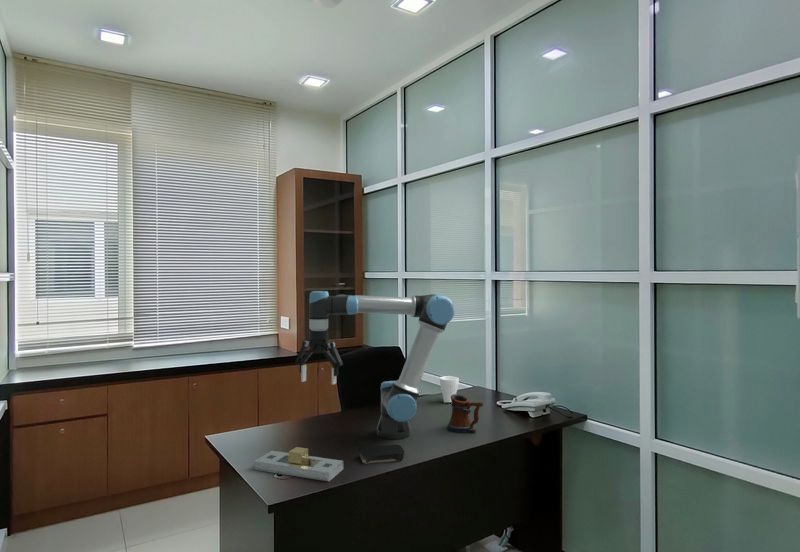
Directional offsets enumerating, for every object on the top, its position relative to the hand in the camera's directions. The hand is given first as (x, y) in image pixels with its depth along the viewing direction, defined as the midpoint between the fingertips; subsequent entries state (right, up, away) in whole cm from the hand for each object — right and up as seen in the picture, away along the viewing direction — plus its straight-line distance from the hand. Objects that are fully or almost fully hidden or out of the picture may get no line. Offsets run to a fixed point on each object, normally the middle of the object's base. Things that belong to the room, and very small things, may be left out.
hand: (318, 382), depth 192 cm
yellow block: (-4, -27, -20) cm, 34 cm away
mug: (+62, -27, +24) cm, 72 cm away
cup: (+60, -27, +71) cm, 97 cm away
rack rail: (-4, -27, -20) cm, 33 cm away
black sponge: (+26, -27, -9) cm, 39 cm away
